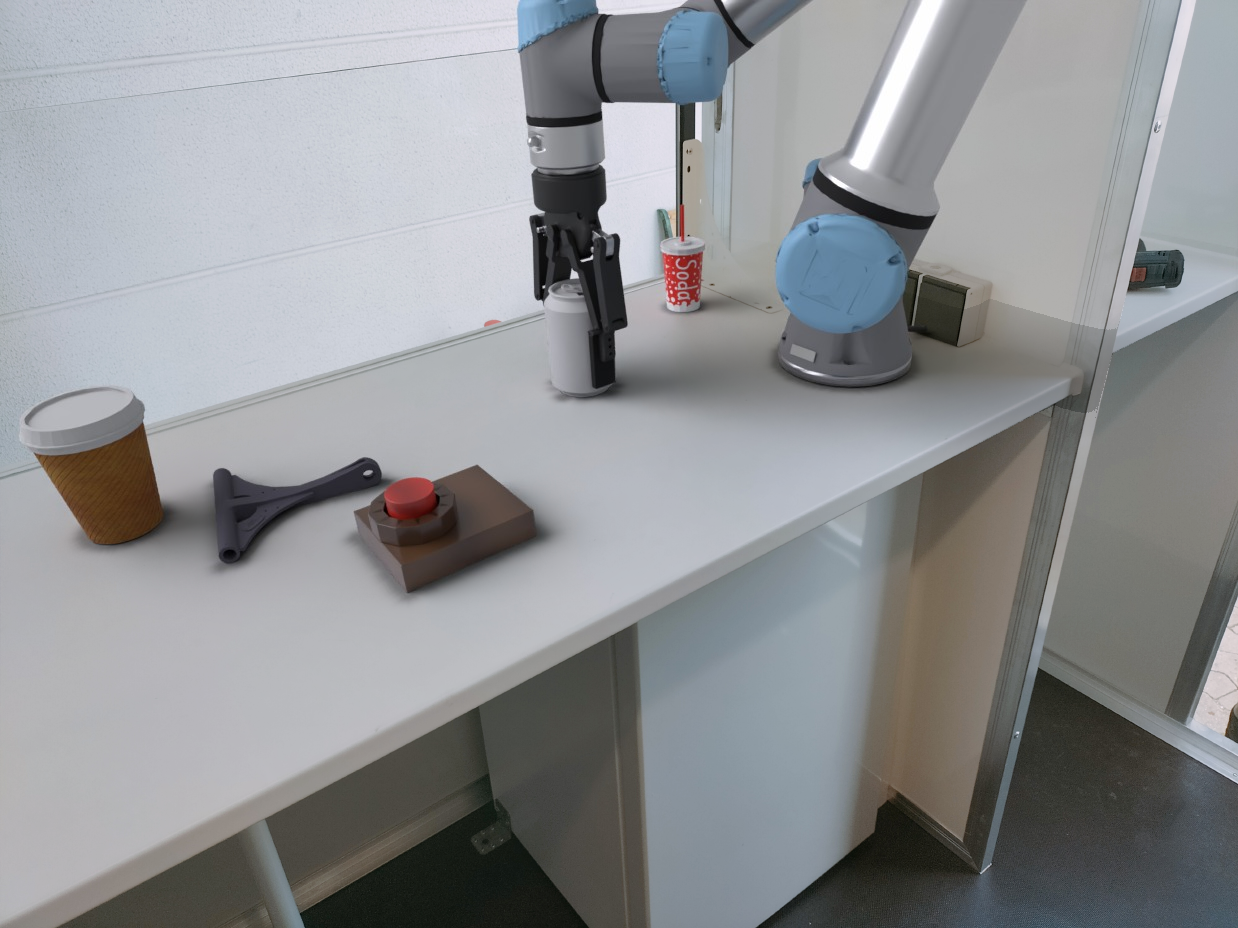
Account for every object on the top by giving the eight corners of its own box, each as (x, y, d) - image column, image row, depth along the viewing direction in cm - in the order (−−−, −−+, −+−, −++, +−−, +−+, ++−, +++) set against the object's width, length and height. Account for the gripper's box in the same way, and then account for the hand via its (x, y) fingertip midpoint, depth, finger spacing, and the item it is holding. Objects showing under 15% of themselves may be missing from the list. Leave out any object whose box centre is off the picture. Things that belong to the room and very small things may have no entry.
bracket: (398, 518, 76) (392, 492, 75) (221, 565, 71) (212, 538, 70) (369, 449, 88) (364, 425, 87) (215, 486, 83) (207, 461, 82)
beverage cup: (656, 313, 117) (654, 210, 110) (667, 298, 122) (664, 199, 115) (700, 315, 116) (700, 211, 109) (709, 300, 121) (709, 199, 114)
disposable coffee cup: (190, 531, 76) (145, 412, 70) (70, 569, 72) (12, 446, 66) (174, 485, 83) (133, 373, 77) (64, 518, 79) (11, 402, 73)
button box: (481, 488, 80) (474, 447, 78) (536, 536, 73) (531, 492, 71) (359, 536, 74) (348, 493, 72) (407, 593, 67) (396, 547, 65)
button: (424, 489, 73) (421, 471, 72) (445, 509, 70) (442, 491, 69) (380, 506, 71) (376, 488, 70) (400, 527, 68) (396, 509, 67)
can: (609, 401, 94) (603, 298, 88) (544, 398, 96) (533, 296, 90) (622, 373, 101) (617, 275, 95) (561, 371, 102) (552, 273, 96)
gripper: (486, 159, 91) (510, 355, 103) (595, 188, 77) (608, 413, 89) (545, 148, 95) (562, 339, 107) (659, 174, 81) (664, 392, 92)
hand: (583, 373), depth 98 cm, fingers closed on can, 7 cm apart
